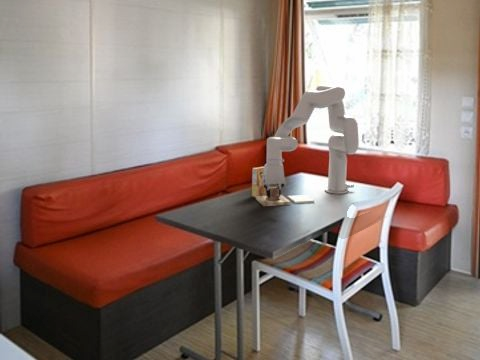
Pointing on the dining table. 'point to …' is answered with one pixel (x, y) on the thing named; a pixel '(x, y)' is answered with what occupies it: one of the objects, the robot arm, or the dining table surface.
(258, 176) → the candy box
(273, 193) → the walnut block
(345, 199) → the dining table surface
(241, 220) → the dining table surface
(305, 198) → the board
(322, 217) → the dining table surface
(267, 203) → the pocket plate
